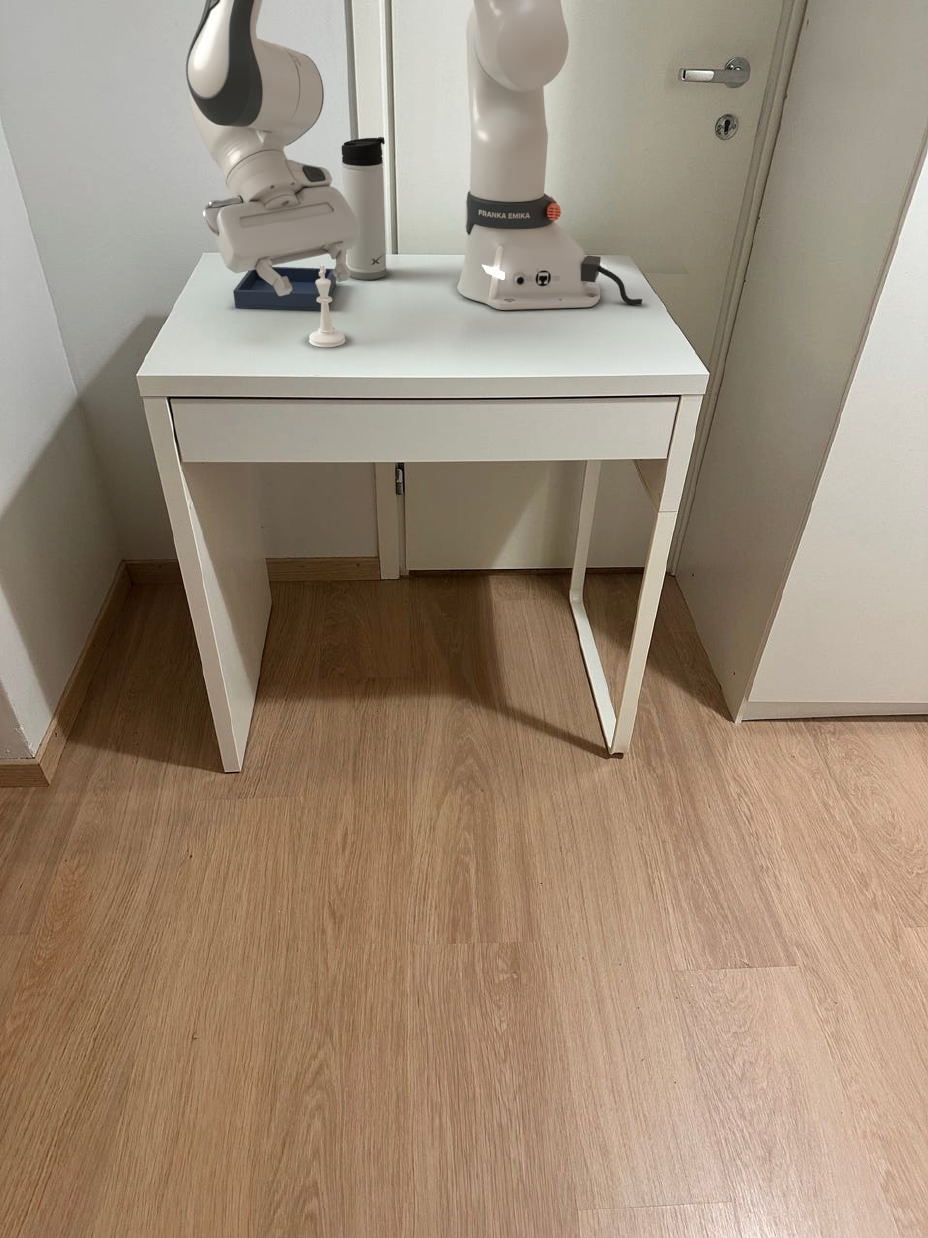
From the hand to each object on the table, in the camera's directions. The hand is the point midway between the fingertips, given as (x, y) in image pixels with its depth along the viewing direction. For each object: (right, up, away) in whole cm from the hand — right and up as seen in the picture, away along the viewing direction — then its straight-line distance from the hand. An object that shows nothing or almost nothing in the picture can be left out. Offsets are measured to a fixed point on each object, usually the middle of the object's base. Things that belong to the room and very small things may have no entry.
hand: (316, 285), depth 117 cm
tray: (-7, +5, +18) cm, 20 cm away
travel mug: (+4, +12, +27) cm, 30 cm away
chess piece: (+1, -6, +4) cm, 7 cm away
